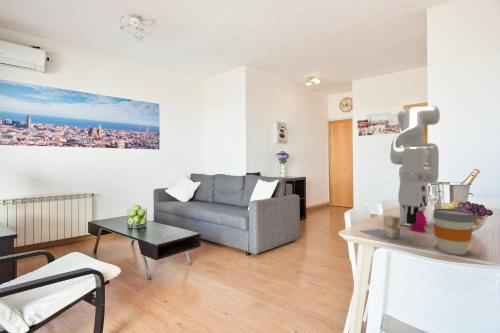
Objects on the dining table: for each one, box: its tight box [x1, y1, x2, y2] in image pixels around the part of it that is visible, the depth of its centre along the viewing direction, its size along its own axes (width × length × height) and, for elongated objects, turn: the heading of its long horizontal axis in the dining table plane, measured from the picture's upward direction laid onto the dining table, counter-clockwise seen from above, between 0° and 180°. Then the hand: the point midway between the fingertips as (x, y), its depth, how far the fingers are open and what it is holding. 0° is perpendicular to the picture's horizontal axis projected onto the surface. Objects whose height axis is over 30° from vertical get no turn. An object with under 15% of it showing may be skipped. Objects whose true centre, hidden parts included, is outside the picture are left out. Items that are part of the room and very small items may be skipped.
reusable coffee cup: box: [432, 208, 475, 256], centre depth 108 cm, size 13×13×15 cm
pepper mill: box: [409, 211, 427, 234], centre depth 136 cm, size 7×7×20 cm
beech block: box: [382, 214, 401, 239], centre depth 124 cm, size 4×4×9 cm
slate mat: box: [359, 228, 414, 244], centre depth 127 cm, size 12×19×1 cm, turn 21°
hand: (411, 223), depth 114 cm, fingers closed
